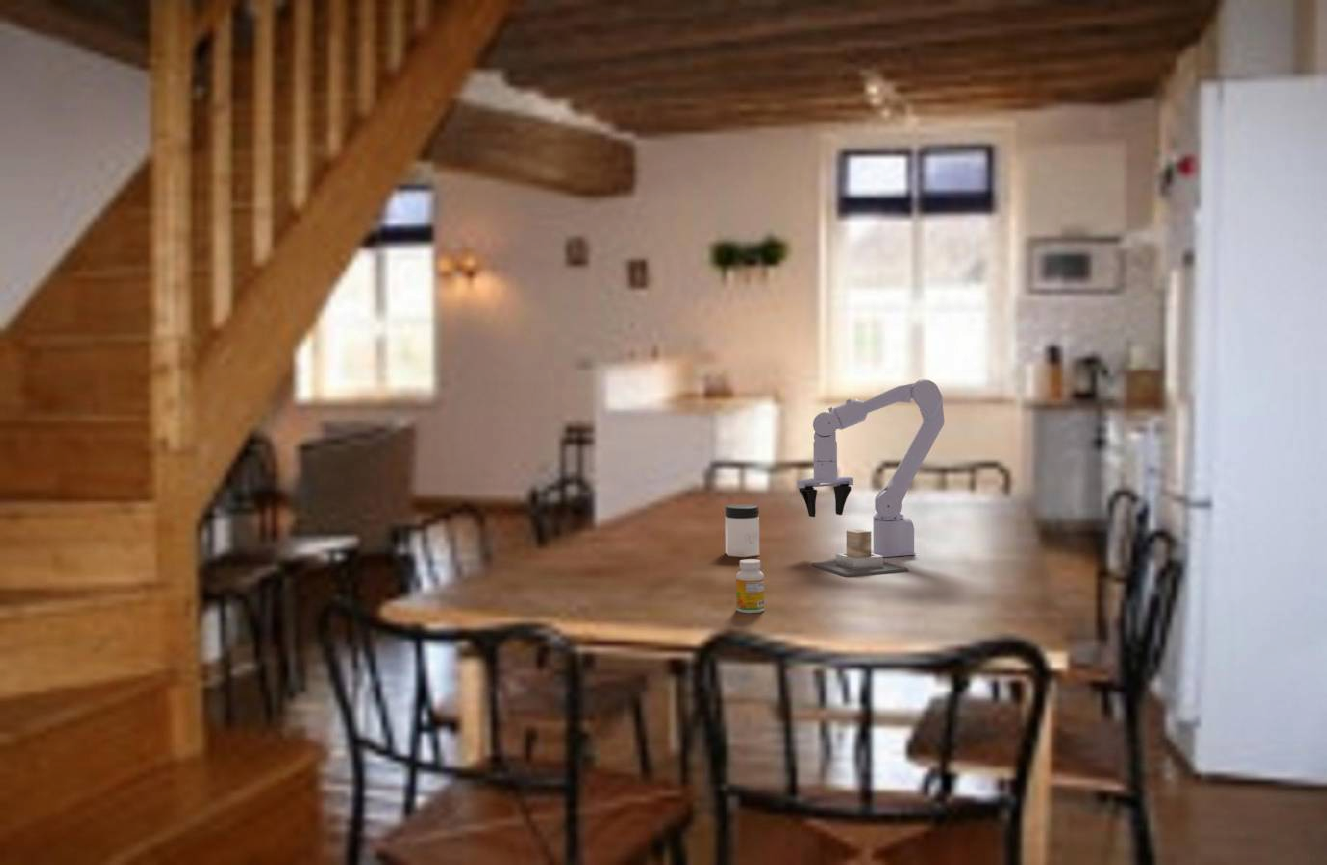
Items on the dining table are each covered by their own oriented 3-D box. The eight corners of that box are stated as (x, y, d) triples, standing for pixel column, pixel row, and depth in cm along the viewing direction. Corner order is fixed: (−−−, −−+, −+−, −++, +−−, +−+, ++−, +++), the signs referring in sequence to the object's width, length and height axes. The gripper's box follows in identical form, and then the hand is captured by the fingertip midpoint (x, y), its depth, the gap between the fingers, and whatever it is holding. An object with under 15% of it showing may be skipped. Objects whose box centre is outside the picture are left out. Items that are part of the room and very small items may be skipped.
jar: (738, 558, 283) (737, 509, 283) (718, 553, 290) (717, 506, 289) (766, 554, 288) (766, 506, 287) (746, 550, 295) (746, 503, 294)
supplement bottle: (734, 608, 227) (734, 558, 227) (761, 607, 228) (761, 557, 227) (738, 614, 222) (738, 563, 221) (766, 613, 222) (766, 562, 222)
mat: (871, 560, 278) (870, 557, 278) (908, 571, 263) (908, 568, 263) (811, 565, 273) (811, 562, 272) (846, 576, 258) (846, 574, 258)
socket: (865, 561, 273) (865, 550, 273) (882, 566, 266) (882, 556, 266) (835, 564, 270) (835, 553, 270) (853, 569, 263) (853, 558, 263)
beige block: (860, 563, 271) (860, 529, 270) (871, 565, 267) (871, 531, 267) (846, 565, 269) (846, 530, 268) (857, 567, 265) (857, 532, 265)
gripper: (842, 458, 293) (843, 511, 294) (791, 460, 288) (791, 515, 289) (857, 460, 287) (857, 515, 288) (805, 463, 282) (805, 519, 283)
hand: (825, 515), depth 288 cm, fingers open, 7 cm apart
